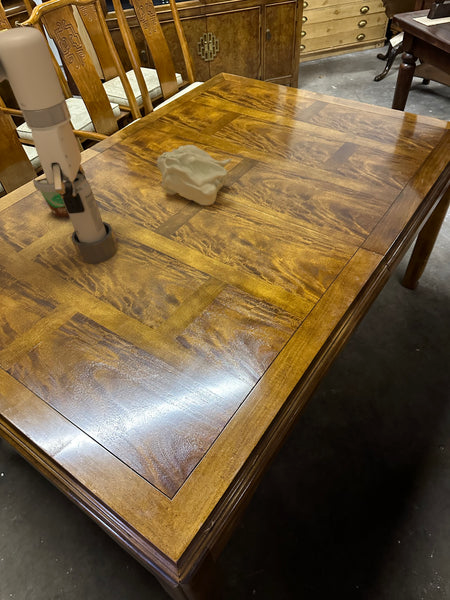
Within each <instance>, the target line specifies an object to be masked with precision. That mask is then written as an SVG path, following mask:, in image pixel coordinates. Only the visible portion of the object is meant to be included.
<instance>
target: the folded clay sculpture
mask: <svg viewBox="0 0 450 600" xmlns="http://www.w3.org/2000/svg"><path fill="white" fill-rule="evenodd" d="M231 162H232V159H231V158H227V159H224V160H217V159H214V158H213V157H212V156H211V154H210V153H208V152H207V151H205V150H203V149H202V148H199V147H198V146H196V145H194V144H186V145H180V146H178V148H173V149H172V150H171V151H164V152H163V153H162V154H160V155H159V156H157V160H156V167H157V169H158V171H159V172H160V174H161V180H162V181H161V188H162V190H163V191H164V192H165V193H166V194H167V195H170V196H174V195H176V194H178V195H179V196H181V197H183V198H185V199H186V200H189V201H193V202H195V203H197V204H198V205H200V206H206V207H207V206H211V205H214V203H215V201H216V199H217V194H218V192H219V191H220V190H221V189H222V187H223V185H224V184H225V183H226V180H227V178H228V176H229V171H228V170H227V169H226V168H225V167H226V166H228V165H229V164H230V163H231Z"/></svg>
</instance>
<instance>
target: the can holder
mask: <svg viewBox="0 0 450 600" xmlns="http://www.w3.org/2000/svg"><path fill="white" fill-rule="evenodd" d="M103 224H104V227H105V230H106V233H107V236H106V237H105V238H103V239H102V240H100V241H98V242H95V243H92V244H82V243H80V241H79V239H78V236H77V234H76V232H75V230H74V231H72V233H71V237H70V239H71V241H72V242H73V246H74V249H75V250H76V253H77V255H78V257H79V259H80V260H81V261H82V262H83V263H86V264H99V263H104V262H106V261H108V260H110V259H111V258H113V257H114V256H115V255H116V253H117V251H118V250H119V249H118V248H119V247H118V241H117V239H116V236H115V233H114V230H113V227H112V225H111V224H110V223H108V222H107V221H103Z"/></svg>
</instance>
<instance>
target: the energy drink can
mask: <svg viewBox="0 0 450 600" xmlns="http://www.w3.org/2000/svg"><path fill="white" fill-rule="evenodd" d="M85 178H86V177H85ZM85 178H84V176H83V175H82V174H77V175H76V178H75V179H74V184H75V188H76V193H79V195H80V198H81V201H82V203H83V206H84V209H85V211H84V212H83V213H73V214H69V213H68V214H69V217H68V218H69V219H70V222H71V224H72V226H73V229H74V231H75V232H76V234H77V236H78V239H79V241H80V243H82V244H92V243H95V242H98V241H100V240H102V239H103V238H105V237H106V236H107V233H106V230H105V227H104V224H103V222H104V221H103V219H102V216H101V212H100V209H99V207H98V204H97V201H96V198H95V195H94V191H93V189H92V187H91V184H90V182H89V181H88V180H87V178H86V179H85ZM64 179H69V178H68V177H66V176H64V177H63V180H64ZM64 186H65V187H68V188H70V183H64ZM70 189H71V188H70ZM62 200H63V198H62ZM63 202H64V201H63ZM64 205H65V203H64ZM65 207H66V206H65ZM66 210H67V208H66ZM67 212H68V211H67Z"/></svg>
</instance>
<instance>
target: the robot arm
mask: <svg viewBox="0 0 450 600" xmlns="http://www.w3.org/2000/svg"><path fill="white" fill-rule="evenodd" d="M4 80H7V81H8V82H9V85H10V87H11V90H12V93H13V95H14V97H15V100H16V103H17V104H18V107H19V109H20V112H21V114H22V116H23V120H24V121H25V124H26V126H27V128H28V129H29V130H31V137H32V140H33V145H34V147H35V151H36V154H37V157H38V160H39V163H40V165H41V168H42V170H43V173H44V176H45V178H46V179H47V181H48V183H50V184H53V183H54V184H55V190H56V192H58V193H59V194H60V196H61V197H62V198H63V201H64V203H65V206H66V208H67V211H68V213H69V214H73V213H83V212H84V211H85V209H84V206H83V203H82V201H81V198H80V195H79V193H76V188H75V184H74V179H75V178H76V175H77V174H82V175H83V176H84V178H85V179H86V180H87V178H86V174H85V175H84V172H85V170H84V167H83V166H82V165H81V164H82V153H81V149H80V147H79V144H78V140H77V138H76V135H75V133H74V130H73V127H72V125H71V122H70V121H71V120H72V115H71V113H70V110H69V106H68V104H67V100H66V98H65V95H64V94H65V93H64V92H63V89H62V86H61V83H60V80H59V77H58V73H57V71H56V68H55V64H54V62H53V59H52V56H51V52H50V50H49V47H48V44H47V40H46V38H45V36H44V35H43V33H42V32H41V31H40V30H39V29H37V28H35V27H31V26H20V27H14V28H9V29H6V30H2V31H0V83H2V82H3V81H4ZM83 170H84V171H83ZM64 176H66V177H68V178H69V179H64V180H63V177H64ZM64 183H70V188H71V189H70V188H68V187H65V186H64Z"/></svg>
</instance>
